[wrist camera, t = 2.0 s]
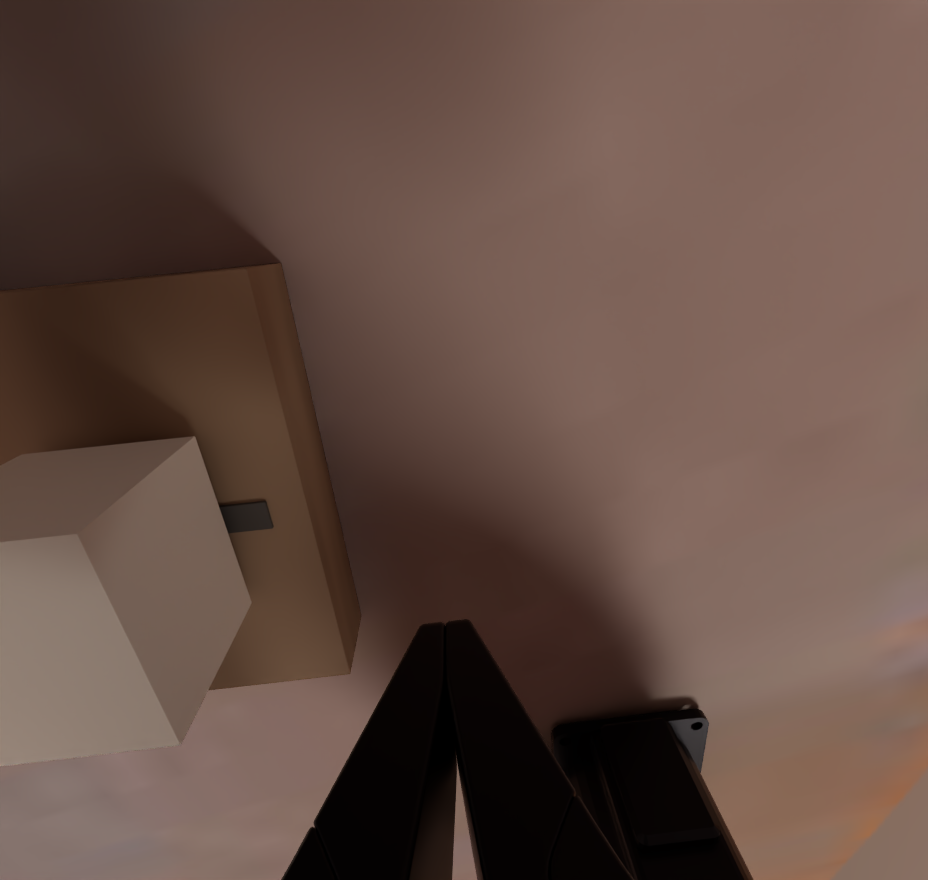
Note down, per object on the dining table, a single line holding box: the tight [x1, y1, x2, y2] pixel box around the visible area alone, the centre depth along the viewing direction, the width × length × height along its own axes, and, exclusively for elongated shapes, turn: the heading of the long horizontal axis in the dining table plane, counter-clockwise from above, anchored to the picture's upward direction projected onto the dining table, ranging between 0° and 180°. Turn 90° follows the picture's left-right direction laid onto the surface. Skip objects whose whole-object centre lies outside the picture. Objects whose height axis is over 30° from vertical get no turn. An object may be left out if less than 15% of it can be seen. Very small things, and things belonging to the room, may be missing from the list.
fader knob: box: [0, 436, 252, 766], centre depth 10 cm, size 4×5×4 cm
